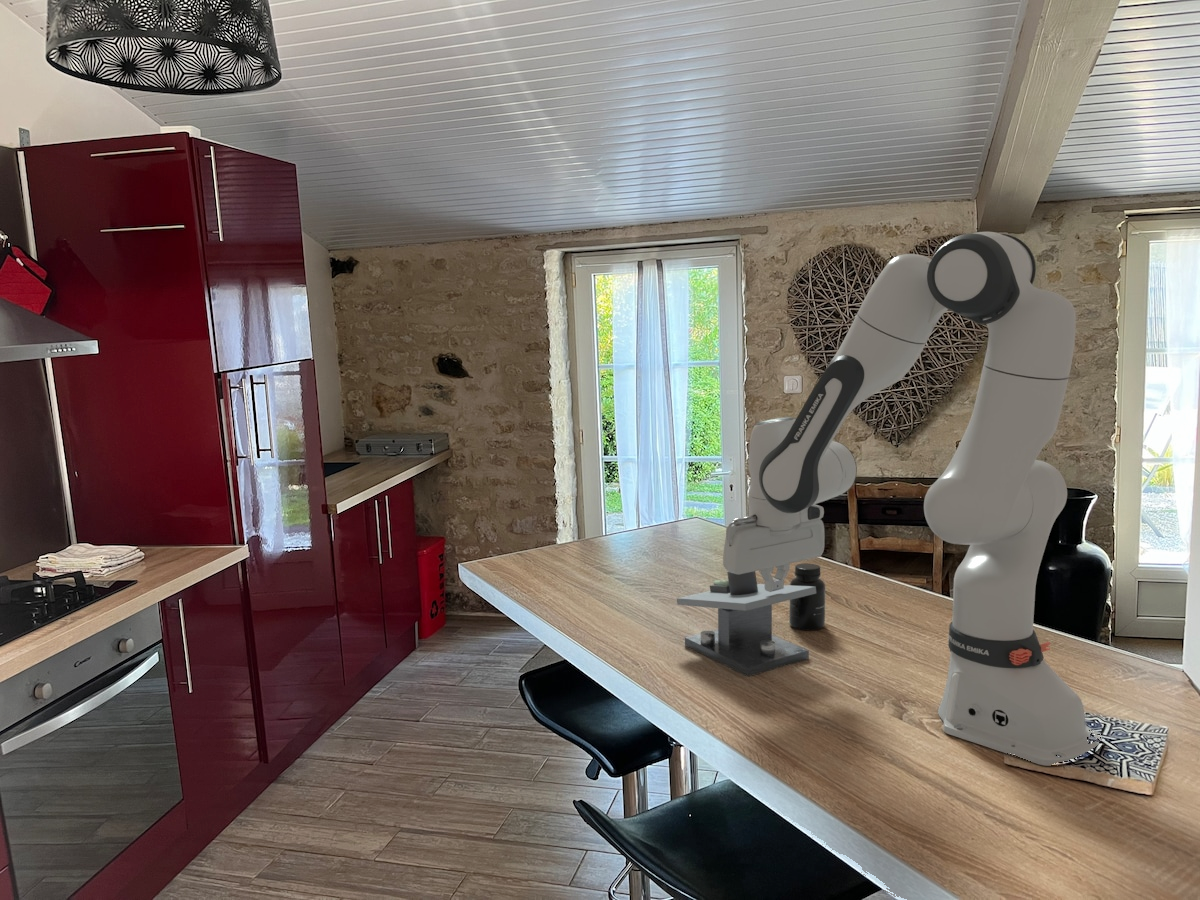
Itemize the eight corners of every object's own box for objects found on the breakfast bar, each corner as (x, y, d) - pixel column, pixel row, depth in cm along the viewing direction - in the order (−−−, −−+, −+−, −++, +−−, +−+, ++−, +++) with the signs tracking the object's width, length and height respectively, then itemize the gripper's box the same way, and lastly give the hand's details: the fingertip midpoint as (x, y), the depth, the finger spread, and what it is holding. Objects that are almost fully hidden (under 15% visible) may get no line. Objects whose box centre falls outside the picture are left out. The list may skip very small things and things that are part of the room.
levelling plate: (817, 596, 163) (812, 563, 164) (746, 614, 155) (741, 579, 155) (744, 592, 181) (740, 562, 181) (677, 607, 173) (673, 576, 173)
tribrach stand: (808, 658, 165) (809, 610, 164) (747, 676, 158) (747, 625, 157) (743, 630, 181) (742, 585, 179) (684, 645, 174) (684, 599, 172)
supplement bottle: (825, 632, 179) (826, 571, 177) (789, 630, 180) (789, 570, 178) (824, 620, 185) (824, 561, 183) (789, 619, 187) (789, 561, 185)
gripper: (739, 523, 151) (739, 605, 153) (831, 507, 161) (829, 584, 163) (714, 516, 156) (715, 596, 158) (805, 500, 166) (804, 575, 169)
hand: (774, 589), depth 161 cm, fingers closed
